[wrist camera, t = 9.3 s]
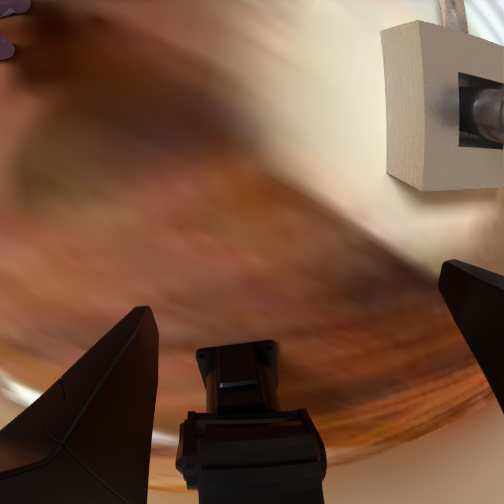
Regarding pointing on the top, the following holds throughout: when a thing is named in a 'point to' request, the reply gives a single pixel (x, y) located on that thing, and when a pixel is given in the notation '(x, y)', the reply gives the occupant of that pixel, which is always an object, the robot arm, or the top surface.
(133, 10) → the top surface
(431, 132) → the grey holed paddle
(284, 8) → the top surface
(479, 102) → the dark metal cylinder
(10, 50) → the toy
